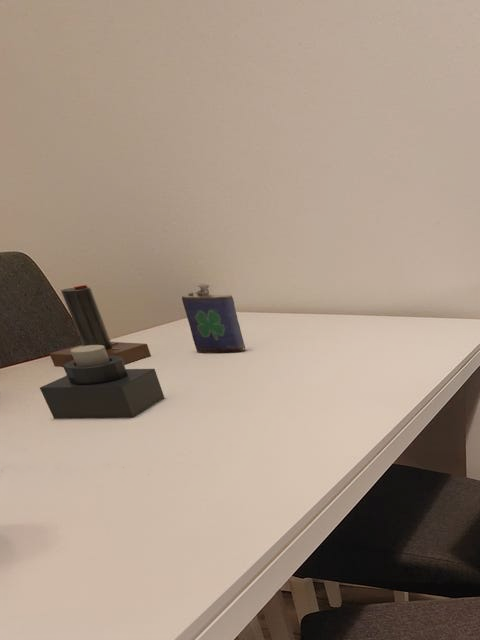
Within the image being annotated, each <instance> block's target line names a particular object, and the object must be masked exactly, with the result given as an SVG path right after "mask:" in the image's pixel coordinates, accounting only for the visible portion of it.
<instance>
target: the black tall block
mask: <svg viewBox="0 0 480 640" xmlns="http://www.w3.org/2000/svg"><path fill="white" fill-rule="evenodd" d="M60 292H61V296H62V297H63V299H64V302H65V304H66V307H67V309H68V311H69V314H70V317H71V320H72V322H73V324H74V326H75V329H76V331H77V333H78V336H79V339H80V341H81V345H82V344H83V346H88V345H102V346H104V347H105V349H109V348H111V347H113V346H112V343H111V342H112V341H111V338H110V335H109V333H108V330H107V328H106V325H105V323H104V319H103V317H102V315H101V311H100V309H99V307H98V304H97V301H96V299H95V295H94V293H93V291H92V288H91V287H89V286H88V285H87V284H83V285H77V286H73V287H67V288H63V289H61V290H60Z"/></svg>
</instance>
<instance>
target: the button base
mask: <svg viewBox="0 0 480 640" xmlns="http://www.w3.org/2000/svg"><path fill="white" fill-rule="evenodd" d="M108 357H109V360H110V362H108V363H104V364H99V365H93V366H77V365H76V363H75V360H73V361H70V362H68V363H65V364H64V366H63V370H64V371H65V374H66V375H65V376H63V377H60V378H58V379H56V380H54V381H52V382H50V383H47V384H44V385H42V386H40V387H39V390H40V392H41V394H42V396H43V398H44V401H45V403H46V405H47V407H48V409H49V410H50V414H51V416H52V417H53V419H54V420H55V419H56V420H57V419H61V420H62V419H63V420H64V419H133V418H136V417H137V416H139V415H140V414H142V413H143V412H145V411H146V410H148V409H150V408H151V407H152V406H153V405H156V404H157V403H159V402H161V401H162V400H164V399H165V394H164V391H163V389H162V387H161V384H160V380H159V377H158V375H157V371H156V369H155V368H126V366H125V364H124V363H123V360H122V358H121V357H118V356H108Z"/></svg>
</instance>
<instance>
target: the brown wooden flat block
mask: <svg viewBox="0 0 480 640" xmlns="http://www.w3.org/2000/svg"><path fill="white" fill-rule="evenodd" d="M111 343H112V346H113V347H111V348H109V349H106V352H107V354H108V356H118V357H121V358H122V360H123V363H124V365H127V364H129V363H132V362H135V361H139V360H142V359H145V358H148V357H151V356H152V355H151V351H150V348H149V346H148V343H143V342H142V343H141V342H122V341H111ZM81 346H83V344H82V343H81V344H79V345H75V346H71V347H68V348H64V349H60V350H57V351H53V352H50V353H49V356H50V359H51V361H52V363H53V366H55V367H64V364H65V363H68V362H70V361H73V360H74V358H73V356H72V353H71V349H73V348H77V347H81Z"/></svg>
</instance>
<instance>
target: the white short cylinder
mask: <svg viewBox="0 0 480 640" xmlns="http://www.w3.org/2000/svg"><path fill="white" fill-rule="evenodd" d="M71 353H72V356H73V358H74V360H75V363H76V365H77V366H93V365H99V364H104V363H108V362H110V360H109V357H108V354H107V352H106V349H105V347H104V346H102V345H88V346H81V347H77V348H73V349H71Z"/></svg>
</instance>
